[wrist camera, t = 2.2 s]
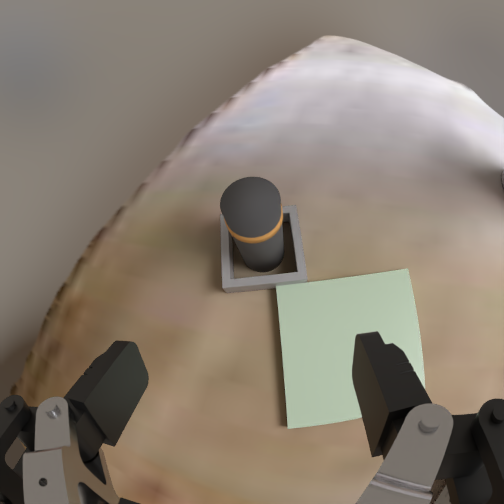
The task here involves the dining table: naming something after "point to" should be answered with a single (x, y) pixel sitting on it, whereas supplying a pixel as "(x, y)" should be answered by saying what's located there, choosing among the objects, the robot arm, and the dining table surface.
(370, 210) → the dining table surface
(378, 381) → the robot arm
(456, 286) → the dining table surface
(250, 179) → the orange-banded dark cylinder
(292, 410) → the pale green square mat
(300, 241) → the gray square frame
